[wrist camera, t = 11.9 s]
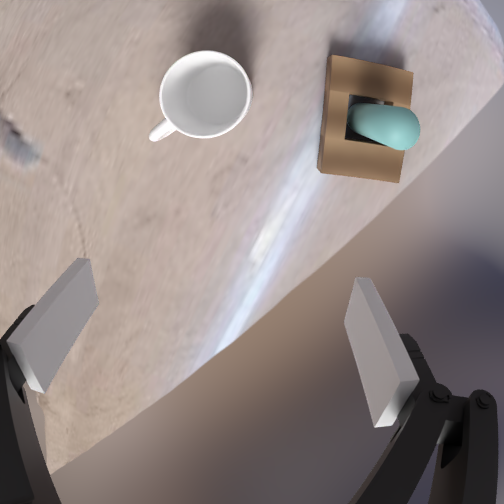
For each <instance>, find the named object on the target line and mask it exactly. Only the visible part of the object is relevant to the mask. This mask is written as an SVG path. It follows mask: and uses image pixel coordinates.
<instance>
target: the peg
mask: <svg viewBox="0 0 504 504" xmlns="http://www.w3.org/2000/svg"><path fill="white" fill-rule="evenodd" d="M347 123H348V126H349V127H350V129H351V130H352V131H354V132H356V133H358V134H360V135H363V136H365V137H368V138H370V139H373V140H375V141H377V142H380V143H382V144H384V145H387V146H389V147H391V148H394V149H396V150H407V149H409V148H411V147H412V146H413V145H414V144H415V143H416V142H417V140H418V138H419V135H420V124H419V121H418V119H417V117H416V115H415V114H414V113H413V112H412V111H411V110H409V109H407V108H404V107H398V106H389V105H380V104H369V103H357V104H354V105H353V106H351V107H350V109H349V110H348V112H347Z"/></svg>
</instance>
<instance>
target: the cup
mask: <svg viewBox="0 0 504 504" xmlns="http://www.w3.org/2000/svg"><path fill="white" fill-rule="evenodd" d="M252 98H253V90H252V85H251V82H250V80H249V78H248V76H247V74H246V72H245V71H244V69H243V68H242V66H241V65H240V64H239V63H238V62H237V61H236V60H234V59H233V58H231V57H230V56H228V55H226V54H224V53H221V52H217V51H210V50H203V51H197V52H193V53H190V54H187V55H185V56H183V57H182V58H180V59H179V60H177V61H176V62H175V63H174V64H173V65H172V66H171V67H170V68H169V69H168V71H167V72H166V74H165V76H164V77H163V80H162V83H161V86H160V92H159V100H160V106H161V109H162V112H163V114H164V116H165V118H164V119H163V120H162V121H161V122H160V123H159V124H157V125H156V126H155V127H154V128H153V129H152V131H151V132H150V134H149V138H150V140H151V141H154V142H155V141H159V140H161V139H163V138H164V137H166V136H168V135H169V134H171V133H172V132H174V131H175V130H178V131H179V132H181V133H183V134H185V135H188V136H191V137H195V138H211V137H216V136H219V135H222V134H224V133H226V132H228V131H229V130H231V129H232V128H234V127H235V126H236V125H237V124H238V123H239V122H240V121H241V120H242V119H243V117H244V116H245V115H246V114H247V112H248V111H249V109H250V106H251V103H252Z"/></svg>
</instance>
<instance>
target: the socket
mask: <svg viewBox="0 0 504 504" xmlns="http://www.w3.org/2000/svg"><path fill="white" fill-rule="evenodd" d="M412 85H413V72H409V71H406V70H402V69H398V68H394V67H390V66H386V65H382V64H378V63H373V62H369V61H364V60H359V59H354V58H349V57H343V56H337V55H331V56H330V57H328V58H327V68H326V81H325V93H324V104H323V115H322V125H321V135H320V144H319V153H318V162H317V169H318V170H319V171H320V172H321V173H324V174H333V175H342V176H350V177H358V178H366V179H373V180H380V181H387V182H394V183H399V180H400V175H401V169H402V163H403V157H404V151H405V150H396V149H394V148H391V147H389V146H387V145H384V144H382V143H377V142H371V141H365V140H358V139H352V138H345V131H346V122H347V112H348V102H349V95H355V96H360V97H366V98H371V99H376V100H381V101H385V102H384V105H389V106H398V107H404V108H407V109H409V110H410V105H411V95H412Z"/></svg>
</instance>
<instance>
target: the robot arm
mask: <svg viewBox="0 0 504 504" xmlns="http://www.w3.org/2000/svg"><path fill="white" fill-rule="evenodd" d="M98 304H99V301H98V296H97V292H96V287H95V283H94V278H93V273H92V267H91V262H90V259H85V258H77V259H76V260H75V261H74V262H73V263H72V264H71V265H70V267H69V268H68V269H67V270H66V271H65V272H64V273H63V274H62V275H61V276H60V277H59V279H58V280H57V281H56V282H55V283H54V284H53V285H52V286H51V287H50V289H49V290H48V291H47V292H46V293H45V294H44V295H43V297H42V298H41V299H40V300H39V301H38V302H37V304H36V305H31V306H30V307H28V308H27V309H25V310H24V311H23V312H22V313H21V314H20V316H19V317H18V319H16V320H15V322H14V324H12V325H11V326H10V328H9V329H8V330H7V331H6V333H5V334H4V335H3V336H2V338H1V339H0V504H61V501H60V499H59V497H58V494H57V492H56V489H55V487H54V484H53V482H52V479H51V477H50V474H49V471H48V468H47V466H46V463H45V460H44V457H43V454H42V451H41V448H40V445H39V441H38V438H37V435H36V432H35V428H34V424H33V421H32V417H31V413H30V409H29V405H28V400H27V396H26V392H25V389H24V387H23V384H24V383H25V381H27V383H28V384H29V386H30V388H31V389H32V390H35V391H38V392H41V393H44V394H45V392H46V391H47V389H48V387H49V385H50V383H51V382H52V380H53V378H54V376H55V374H56V373H57V371H58V369H59V367H60V366H61V364H62V362H63V361H64V359H65V357H66V356H67V354H68V352H69V351H70V349H71V347H72V346H73V344H74V342H75V341H76V339H77V337H78V336H79V334H80V333H81V331H82V329H83V328H84V326H85V325H86V323H87V321H88V320H89V318H90V317H91V315H92V314H93V312H94V311H95V309H96V307H97V306H98ZM344 325H345V328H346V330H347V334H348V337H349V341H350V344H351V347H352V350H353V354H354V357H355V360H356V363H357V367H358V370H359V374H360V377H361V381H362V384H363V388H364V391H365V395H366V398H367V402H368V406H369V410H370V413H371V417H372V421H373V424H374V427H383V426H390V425H392V424H393V423H394V421H395V420H396V418H397V417H398V420H399V423H400V425H399V427H398V428H397V430H396V431H395V433H394V434H393V435H392V437H391V440H390V442H389V444H388V445H387V447H386V449H385V450H384V452H383V453H382V455H381V457H380V458H379V460H378V461H377V463H376V465H375V466H374V467H373V469H372V471H371V472H370V473H369V475H368V476H367V478H366V479H365V481H364V482H363V484H362V485H361V487H360V488H359V489H358V491H357V492H356V493H355V495H354V496H353V498H352V499H351V500H350V502H349V503H348V504H407V503H408V501H409V499H410V497H411V495H412V493H413V492H414V490H415V488H416V486H417V484H418V482H419V480H420V478H421V476H422V474H423V472H424V470H425V468H426V466H427V464H428V462H429V460H430V457H431V455H432V453H433V451H434V448H435V446H436V444H439V446H438V453H437V460H436V466H435V472H434V477H433V482H432V487H431V492H430V497H429V501H428V504H496V493H497V478H498V421H497V420H498V419H497V404H496V401H495V399H494V397H493V396H492V395H491V394H490V393H489V392H487V391H485V390H475V391H473V392H472V394H471V395H470V396H469V398H466V397H459V396H453V395H452V393H451V392H450V390H449V389H448V388H447V387H445V386H444V385H442V384H439V383H436V381H435V378H434V376H433V374H432V372H431V370H430V368H429V366H428V364H427V362H426V360H425V359H424V356H423V354H422V352H420V348H419V346H418V344H417V342H416V341H415V340H414V339H413V338H412V337H411V336H410V335H409V334H398V332H397V330H396V328H395V326H394V323H393V321H392V319H391V317H390V315H389V313H388V311H387V309H386V307H385V306H384V303H383V302H382V300H381V298H380V296H379V294H378V292H377V290H376V288H375V286H374V284H373V283H372V281H371V279H370V278H362V277H356V278H355V282H354V286H353V290H352V294H351V298H350V302H349V305H348V309H347V312H346V316H345V320H344Z"/></svg>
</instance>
